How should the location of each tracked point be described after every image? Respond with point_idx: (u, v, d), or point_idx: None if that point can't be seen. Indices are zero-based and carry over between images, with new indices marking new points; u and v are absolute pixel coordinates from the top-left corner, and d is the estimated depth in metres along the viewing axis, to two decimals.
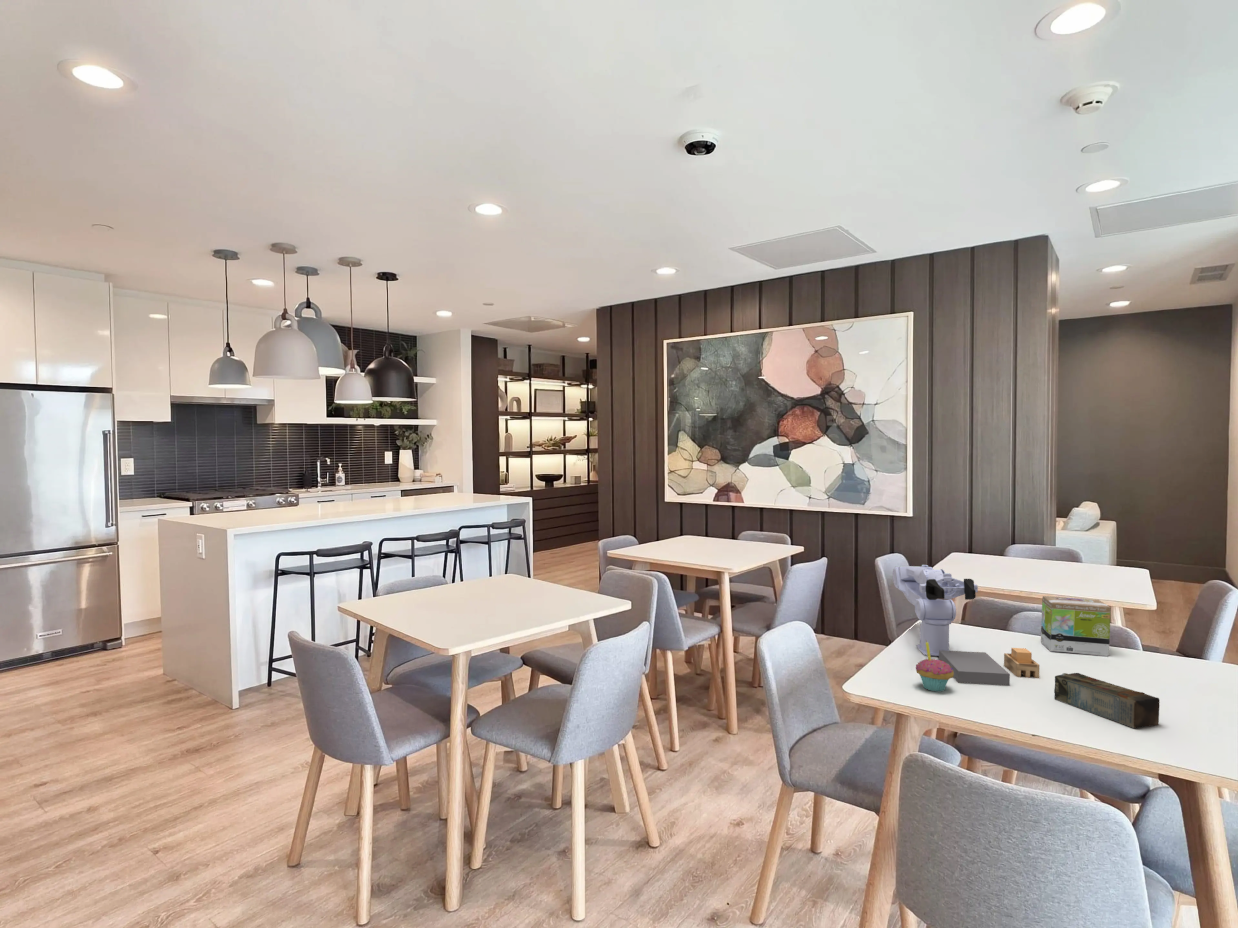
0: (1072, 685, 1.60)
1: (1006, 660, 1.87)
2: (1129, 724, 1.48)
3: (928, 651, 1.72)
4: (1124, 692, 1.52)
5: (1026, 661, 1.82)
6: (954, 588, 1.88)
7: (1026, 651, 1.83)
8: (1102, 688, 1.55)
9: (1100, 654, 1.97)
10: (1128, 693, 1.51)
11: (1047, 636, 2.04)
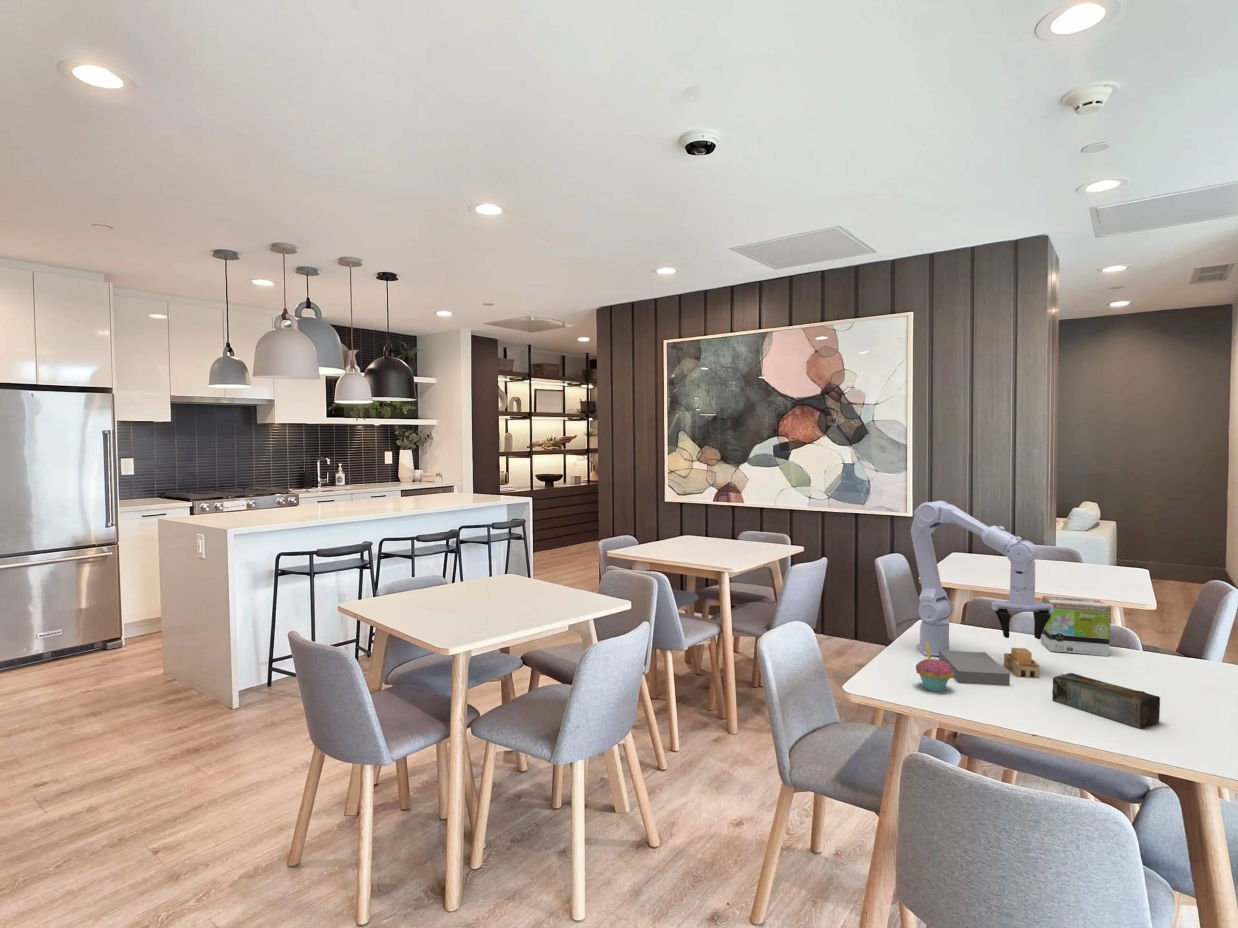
0: (1072, 686, 1.59)
1: (1006, 660, 1.87)
2: (1135, 724, 1.48)
3: (928, 651, 1.72)
4: (1126, 692, 1.52)
5: (1026, 661, 1.82)
6: (1027, 610, 1.83)
7: (1026, 651, 1.83)
8: (1104, 689, 1.54)
9: (1100, 654, 1.97)
10: (1130, 693, 1.51)
11: (1047, 636, 2.04)
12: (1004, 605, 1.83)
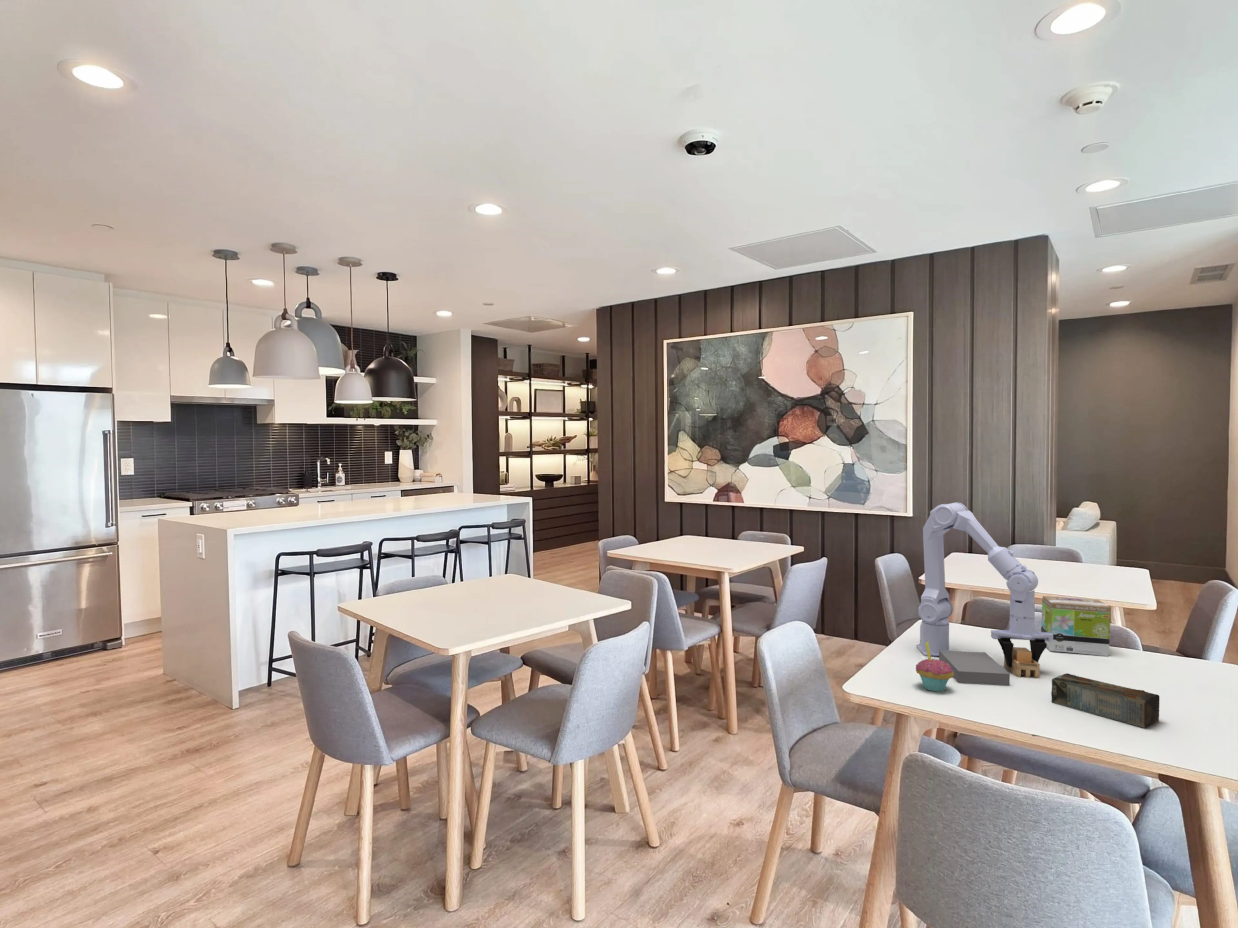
0: (1073, 688, 1.59)
1: None
2: (1139, 724, 1.48)
3: (928, 651, 1.72)
4: (1128, 691, 1.52)
5: (1026, 660, 1.82)
6: (1027, 639, 1.83)
7: (1026, 650, 1.83)
8: (1105, 689, 1.54)
9: (1100, 654, 1.97)
10: (1132, 692, 1.51)
11: None
12: (1004, 634, 1.83)
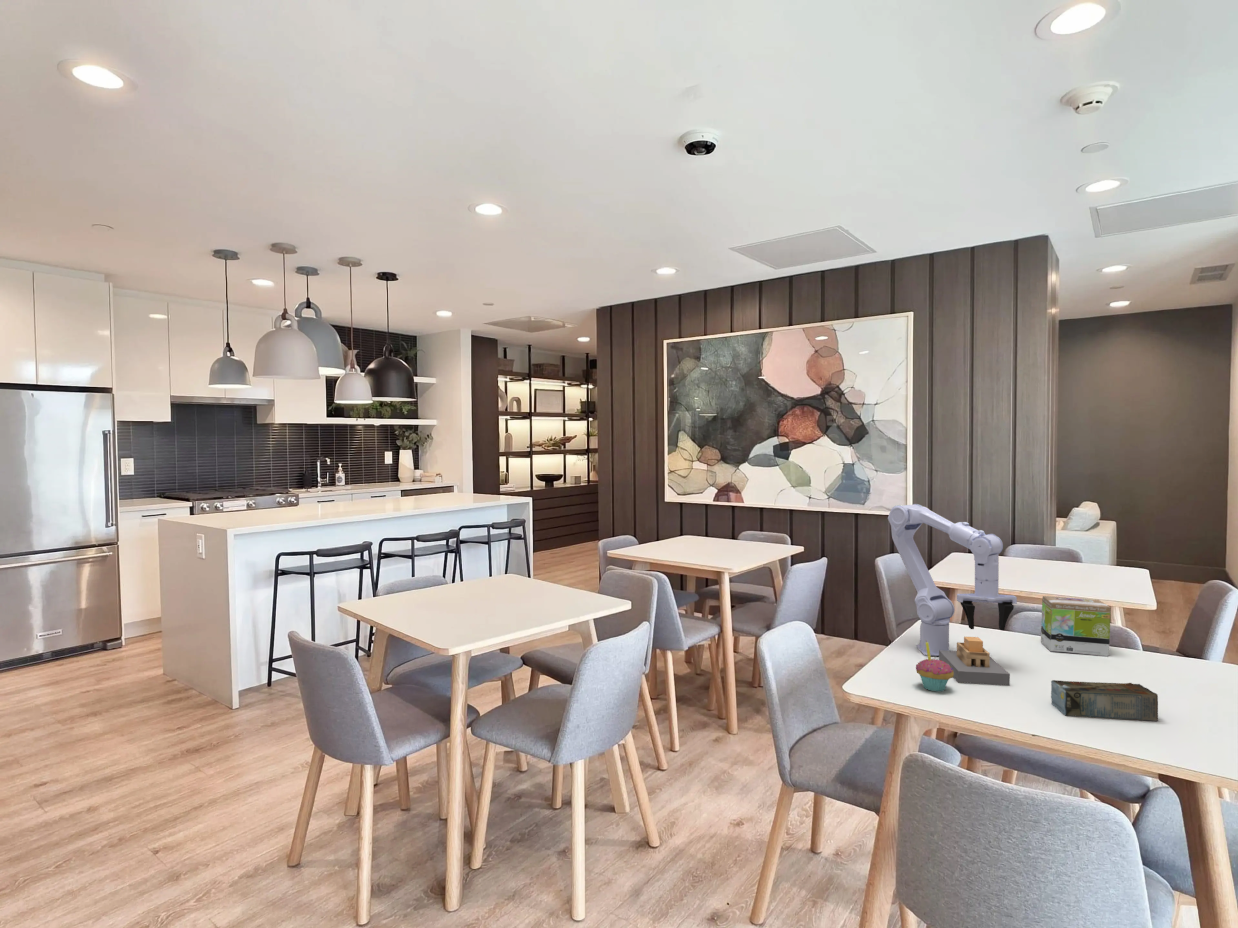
0: (1087, 696, 1.53)
1: (958, 649, 1.86)
2: (1152, 718, 1.51)
3: (928, 651, 1.72)
4: (1129, 688, 1.54)
5: (978, 649, 1.81)
6: (991, 602, 1.87)
7: (978, 640, 1.82)
8: (1115, 690, 1.53)
9: (1100, 654, 1.97)
10: (1133, 688, 1.54)
11: (1047, 636, 2.04)
12: (969, 597, 1.87)
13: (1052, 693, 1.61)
